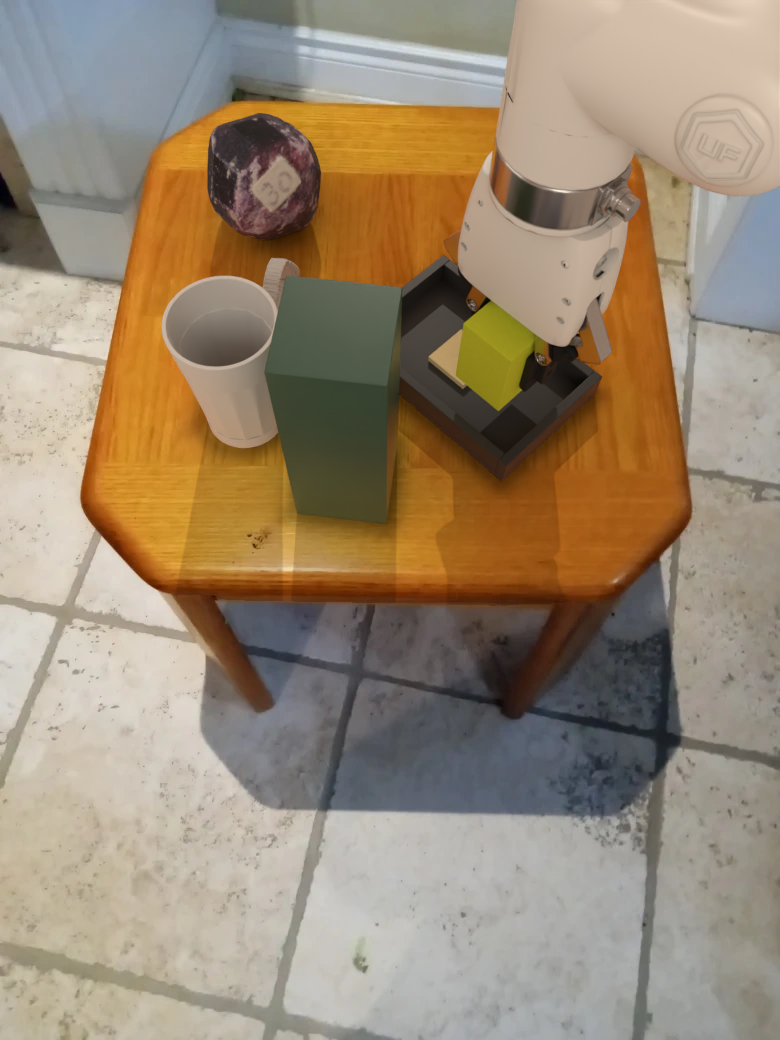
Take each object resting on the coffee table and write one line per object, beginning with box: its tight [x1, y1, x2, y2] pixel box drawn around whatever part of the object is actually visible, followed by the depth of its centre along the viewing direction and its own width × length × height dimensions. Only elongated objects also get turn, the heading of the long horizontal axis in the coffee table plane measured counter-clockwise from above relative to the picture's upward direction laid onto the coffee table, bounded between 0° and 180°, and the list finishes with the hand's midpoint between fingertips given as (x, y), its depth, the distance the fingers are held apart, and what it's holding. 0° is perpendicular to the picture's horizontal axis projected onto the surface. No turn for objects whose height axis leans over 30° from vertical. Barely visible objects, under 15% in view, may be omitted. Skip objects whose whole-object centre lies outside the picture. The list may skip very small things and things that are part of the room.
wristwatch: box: [261, 257, 301, 310], centre depth 69 cm, size 3×5×5 cm, turn 168°
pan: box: [399, 254, 603, 483], centre depth 67 cm, size 18×12×3 cm, turn 45°
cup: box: [160, 275, 278, 449], centre depth 61 cm, size 8×8×12 cm
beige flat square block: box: [428, 329, 467, 389], centre depth 68 cm, size 4×4×1 cm
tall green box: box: [264, 275, 403, 525], centre depth 56 cm, size 7×7×19 cm
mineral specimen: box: [206, 112, 322, 241], centre depth 71 cm, size 10×10×10 cm
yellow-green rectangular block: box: [456, 300, 534, 411], centre depth 61 cm, size 4×7×6 cm, turn 135°
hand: (509, 356), depth 62 cm, fingers closed on yellow-green rectangular block, 4 cm apart
